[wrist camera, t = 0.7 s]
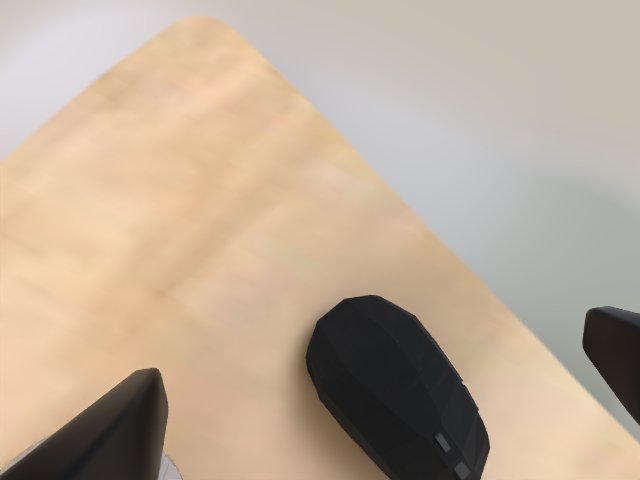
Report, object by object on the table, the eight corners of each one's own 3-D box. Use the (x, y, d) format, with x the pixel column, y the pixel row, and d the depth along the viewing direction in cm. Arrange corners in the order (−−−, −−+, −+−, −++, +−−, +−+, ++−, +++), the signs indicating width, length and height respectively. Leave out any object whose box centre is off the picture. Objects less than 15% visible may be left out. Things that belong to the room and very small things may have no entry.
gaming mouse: (452, 565, 23) (495, 625, 19) (280, 347, 22) (288, 362, 18) (533, 480, 24) (589, 520, 20) (371, 271, 24) (398, 270, 20)
